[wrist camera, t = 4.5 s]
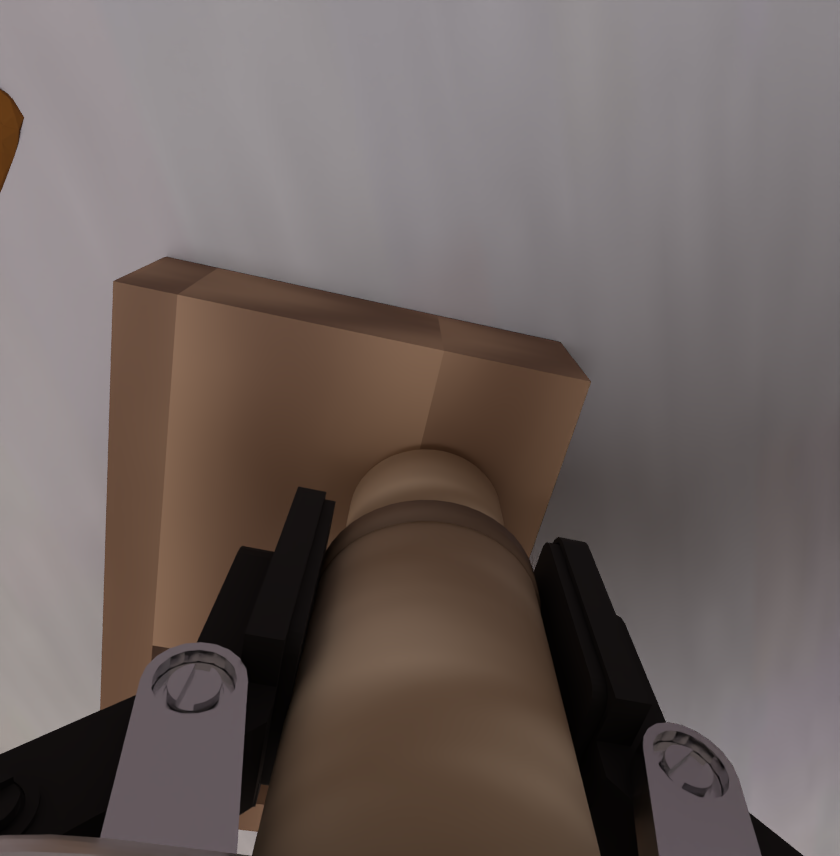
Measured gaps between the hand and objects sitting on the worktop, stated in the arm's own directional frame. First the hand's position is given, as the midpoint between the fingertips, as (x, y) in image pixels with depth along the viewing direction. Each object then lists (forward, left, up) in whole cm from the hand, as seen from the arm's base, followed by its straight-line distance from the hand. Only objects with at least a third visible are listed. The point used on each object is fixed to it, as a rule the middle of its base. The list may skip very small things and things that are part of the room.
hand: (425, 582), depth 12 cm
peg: (0, 0, -2) cm, 2 cm away
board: (+2, +4, -6) cm, 8 cm away
